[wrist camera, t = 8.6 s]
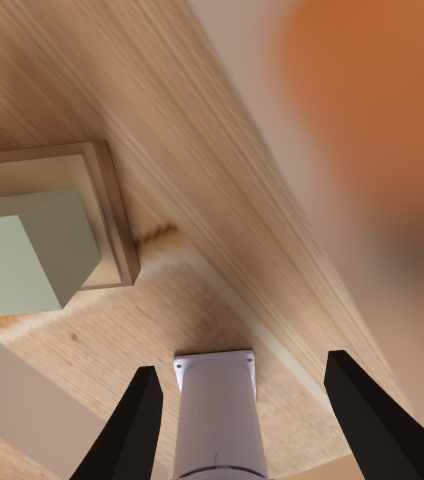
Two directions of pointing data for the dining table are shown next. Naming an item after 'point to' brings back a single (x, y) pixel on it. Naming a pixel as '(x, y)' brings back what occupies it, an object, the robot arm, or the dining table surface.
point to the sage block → (43, 251)
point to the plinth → (92, 197)
